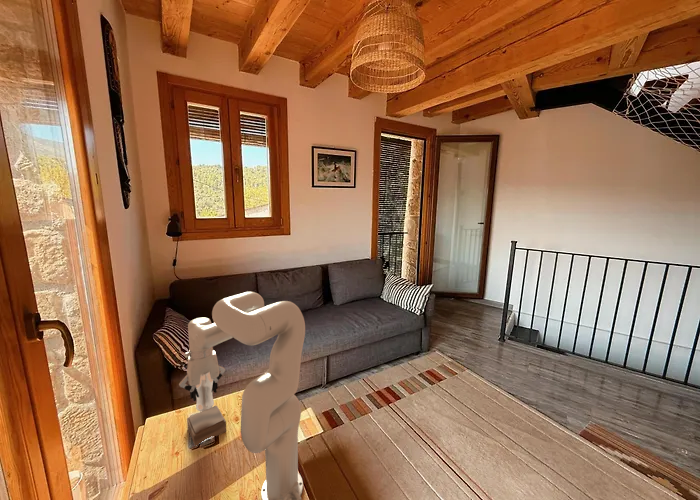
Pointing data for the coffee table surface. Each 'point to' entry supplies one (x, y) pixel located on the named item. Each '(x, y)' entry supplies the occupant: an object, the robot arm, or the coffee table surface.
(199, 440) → the plinth
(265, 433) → the robot arm
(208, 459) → the coffee table surface
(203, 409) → the beer glass
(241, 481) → the coffee table surface
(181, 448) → the coffee table surface
